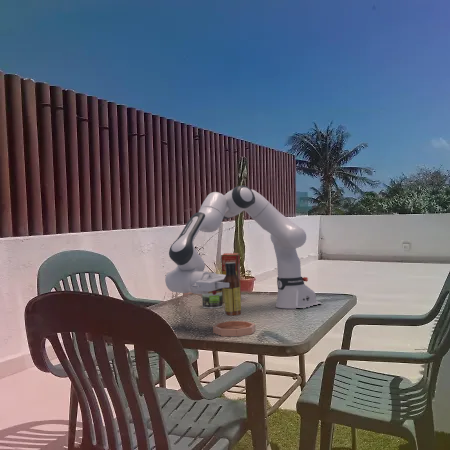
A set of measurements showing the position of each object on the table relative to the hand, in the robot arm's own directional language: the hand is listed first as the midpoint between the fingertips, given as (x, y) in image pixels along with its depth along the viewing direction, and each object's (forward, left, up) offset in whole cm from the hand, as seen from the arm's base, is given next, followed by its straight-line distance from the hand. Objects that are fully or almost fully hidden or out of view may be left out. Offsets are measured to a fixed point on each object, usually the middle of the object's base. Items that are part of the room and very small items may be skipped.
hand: (234, 283), depth 184 cm
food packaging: (-34, -64, -19) cm, 74 cm away
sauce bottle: (+1, -1, -12) cm, 12 cm away
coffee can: (-18, -55, -19) cm, 60 cm away
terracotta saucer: (0, -1, -18) cm, 18 cm away
